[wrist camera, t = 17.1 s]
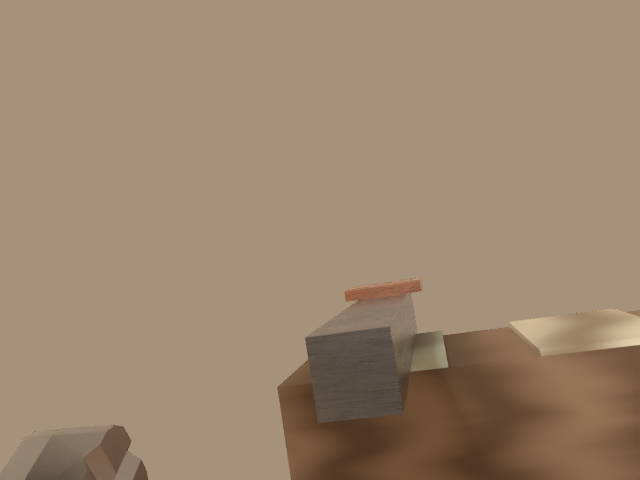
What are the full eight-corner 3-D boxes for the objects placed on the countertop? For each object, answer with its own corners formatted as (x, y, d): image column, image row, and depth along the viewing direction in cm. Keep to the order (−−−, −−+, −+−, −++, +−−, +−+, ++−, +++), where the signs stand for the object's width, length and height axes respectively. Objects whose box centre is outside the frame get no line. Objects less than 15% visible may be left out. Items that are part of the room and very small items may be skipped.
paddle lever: (294, 425, 19) (278, 322, 19) (363, 336, 39) (355, 286, 39) (428, 411, 18) (411, 304, 18) (429, 328, 38) (421, 276, 38)
